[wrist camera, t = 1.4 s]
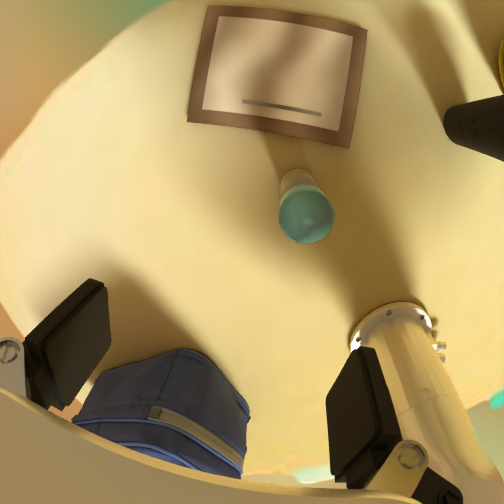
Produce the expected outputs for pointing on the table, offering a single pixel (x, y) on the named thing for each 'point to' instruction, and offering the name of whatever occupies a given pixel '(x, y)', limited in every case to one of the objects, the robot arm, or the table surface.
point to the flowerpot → (501, 61)
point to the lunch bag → (171, 412)
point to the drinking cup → (478, 126)
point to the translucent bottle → (304, 208)
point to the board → (278, 73)
